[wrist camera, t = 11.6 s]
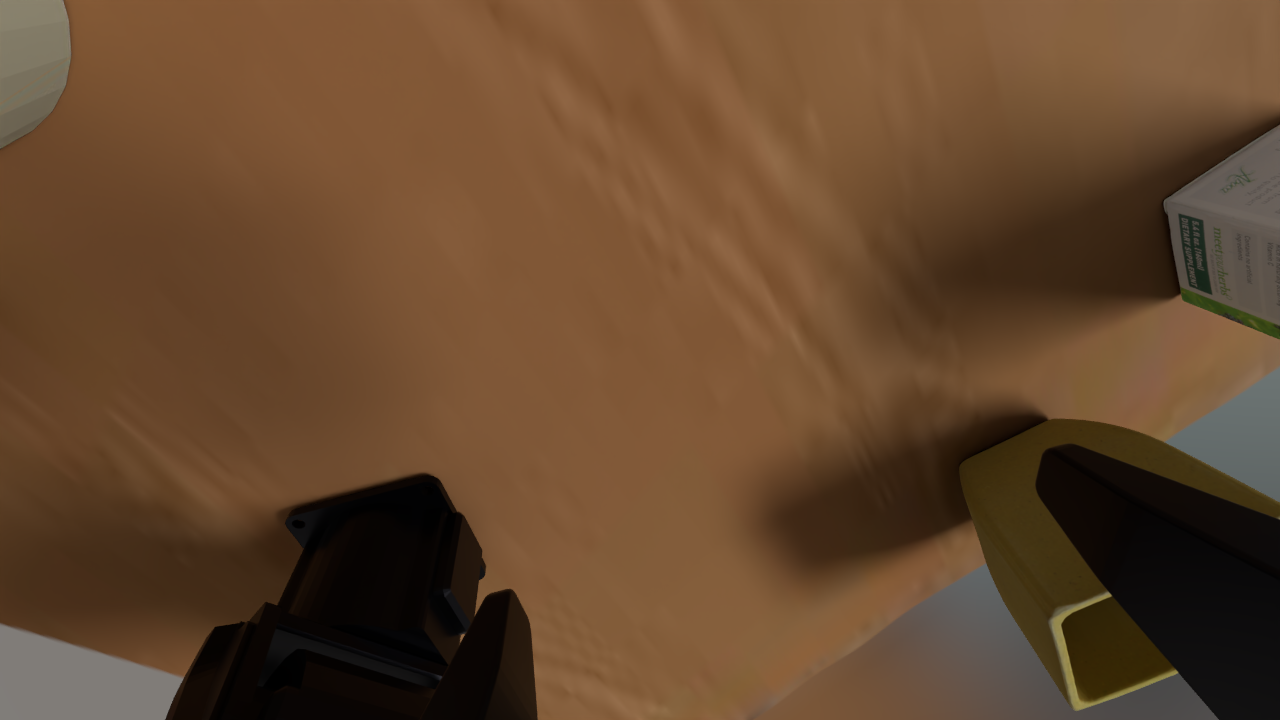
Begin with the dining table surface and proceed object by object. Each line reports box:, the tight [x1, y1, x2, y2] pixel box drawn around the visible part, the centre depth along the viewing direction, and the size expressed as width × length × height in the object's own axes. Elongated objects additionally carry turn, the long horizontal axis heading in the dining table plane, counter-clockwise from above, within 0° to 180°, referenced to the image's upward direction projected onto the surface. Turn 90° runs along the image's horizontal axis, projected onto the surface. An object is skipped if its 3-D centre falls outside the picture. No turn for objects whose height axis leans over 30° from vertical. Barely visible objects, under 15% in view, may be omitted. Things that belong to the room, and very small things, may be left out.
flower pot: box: [959, 419, 1280, 711], centre depth 25 cm, size 9×9×9 cm
